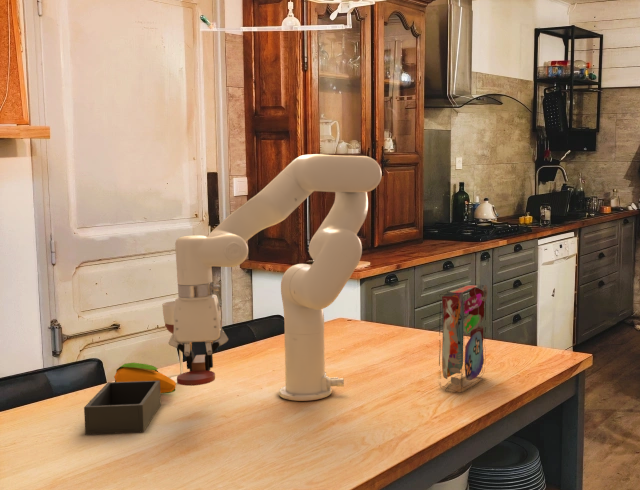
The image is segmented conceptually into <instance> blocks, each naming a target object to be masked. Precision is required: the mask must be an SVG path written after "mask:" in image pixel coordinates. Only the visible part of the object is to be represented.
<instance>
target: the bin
mask: <svg viewBox="0 0 640 490" xmlns="http://www.w3.org/2000/svg"><path fill="white" fill-rule="evenodd" d="M161 399H162V398H161V393H160V381H133V382H115V381H108V382H107V383H106V384H104V386H103V387H102V388H101V389H100V390H99V391H98V392H97V393H96V394H95V395H94V396H93V397H92V398H91V400H90V401H89V402H87V403H86V405H84V407H83V413H84V414H83V415H84V435H85V436H88V435H89V436H90V435H107V434H109V435H110V434H111V435H113V434H132V433H133V434H134V433H135V434H136V433H145V431H146V430H147V428H148V426H149V424H150V423H151V421H152V419H154V417H155V415H156V413H157V412H158V410H159V409H160V407H161V406H162V401H161Z"/></svg>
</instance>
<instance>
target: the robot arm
mask: <svg viewBox="0 0 640 490" xmlns="http://www.w3.org/2000/svg"><path fill="white" fill-rule="evenodd" d="M382 175H383V173H382V168H381V166H380V164H379V162H378V161H376V160H375V159H374V158H372V157H370V156H367V155H337V154H336V155H334V154H323V153H322V154H321V153H313V154H303V155H300V156H298V157H296V158H294V159H293V160H291V162H290V163H289V164H288V165H286V167H285V168H284V169H283V170H281V171H280V172H279V173H278V174H277V175H276V176H275V177H274V178H273V179H272V180H271V181H270V182H269V183H268V184H267V185H266V186H265V187H263V189H261V190H260V191H259V192H257V194H255V195H254V196H253V197H251V198H250V199H248V200H247V201H246V202H245V203H243V204H242V205H241V206H239V207H238V208H236V209H235V210H234V211H233V212H231V213H230V214H228V216H227V217H225V219H223V220H222V221H221V222H220V223H218V225H217V226H216V227H215V228H214V229H213V230H212V231H210V233H209V234H208V235H195V234H194V235H184V236H180V237H178V238H177V239H176V240H175V243H174V246H175V247H174V248H175V262H176V263H175V264H176V279H177V282H176V283H177V297H175V300H174V301H175V307H174V332H173V334H172V333H171V336H170V338H169V341H168V345H169V346H171V347H173V348H176V349H178V350H180V351H181V352H182V354H184V356H185V358H186V359H185V361H186V369H187V370H189V371H192V362H193V360H194V358H195V353H194V351H193V349H192V347H193V343H203V342H204V343H205V350H206V351H205V354H204V355H205V367H206V370H207V371H211V369H213V368H214V357H213V353H214V352H215V351H216V350H217V349H218V348H219V347H221V346H222V345H224V344H226V343H227V342H228V341H229V337H228V336H227V334H226V332H225V331H224V329H223V326H222V325H223V324H222V315H221V308H220V303H219V298H218V296H217V294H214V293H215V292H219V291H220V284H215V283H214V281H213V268H212V267H218V268H221V267H222V268H223V267H224V268H233V267H234V268H235V267H238V266H240V265H241V264H243V263H244V262H245V261H246V259H247V257H248V255H249V246H248V243H247V241H249V240H250V239H251V238H252V237H254V236H255V235H256V234H258V233H259V232H261V231H263V230H265V229H267V228H270V227H273V226H276V225H278V224H280V223H281V222H283V221H284V220H286V219H287V218H288V217H289V216H290V215H291V214H292V213H293V212H294V211H295V210H296V209H297V208H298V207H299V206H300V205H301V204H302V203H304V201H306V199H307V198H309V196H311V195H312V194H313V193H314V192H327V193H334V194H335V196H334V201H333V204H332V206H331V208H330V210H329V212H328V214H327V215H326V217H325V218H324V219H323V221H322V223H321V224H320V226H319V227H318V229H317V230H316V231H315V233H314V234H313V236H312V237H311V239H310V242H309V245H308V254H309V256H310V258H311V259H312V260H313V262H312V264H307V263H297V264H293V265H292V266H290V267H288V268H287V270H285V272H284V274H283V275H282V278H281V282H280V294H281V300H282V309H283V320H284V323H283V324H284V331H283V332H284V379H285V380H284V381H285V382H284V383H285V385H283V386H281V387H280V388H279V390H278V396H280V397H281V398H282V399H284V400H289V401H298V402H307V401H308V402H309V401H316V400H322V399H324V398H327V397H329V396H330V395H331V394H332V393H333V392H332V391H333V390H332V387H337V388H338V387H344V386H345V379H344V377H342V378H339V376H333V377H330V376H329V375H328V376H327V372H326V359H325V358H326V357H325V356H326V355H325V354H326V352H325V348H326V347H325V346H326V345H325V315H324V314H325V313H324V309H325V308H328V307H329V306H331V305H332V304H333V303H334V302H335V300H336V299H337V298H338V297H339V295H340V294H341V292H342V290H343V289H344V288H345V286H346V284H347V283H348V282H349V280H350V279H351V277H352V275H353V274H354V272H355V271H356V269H357V267H358V265H359V263H360V261H361V258H362V254H363V246H362V245H363V244H362V240H361V239H360V238H359V236H358V233H359V231H360V229H361V228H362V226H363V224H364V223H365V220H366V218H367V215H368V210H369V198H368V196H369V195H368V192H371V191H373V190H375V189H376V188H377V187H378V185H379V184H380V182H381V180H382Z"/></svg>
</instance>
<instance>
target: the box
mask: <svg viewBox="0 0 640 490" xmlns="http://www.w3.org/2000/svg"><path fill="white" fill-rule="evenodd" d="M488 289H489V288H488V286H487V284H484V285H483V284H481V286H480V285H476V284H466V285H462V286H457V287H456V288H451V289H448V290H446V291H444V292H443V293H439V296H441V304H439V307H440V308H439V316H438V317H439V323H438V326H439V327H438V329H439V332H438V333H439V335H441V323H442V344H441V341H439V343H438V344H439V348H438V352H439V353H438V354H439V355H438V361H439V362H438V365H441V369H442V374H441V371H439V378H442V376H443V378H444V379H446V380H448V378H449V377H450V380H449V381H448V382H447V383H446V384H445V385H441V383H438V385H439V387H440V388H445V392H446V393H447V392H448V393H450V391H449V390H451V391H453V392H454V393H456V394H459V393H464V392H466V391H468V390H469V388H467V389H466V390H464V391H461V392H460V391H459V392H458V391H456V390H455V389H452V388H449V386H451V385H453V386H457V387H459V386H460V390H462V389H465V388H466V386H464V385H463V379H465V380H466V381H473V380H475V379H476V378H477V380H475V382H477V381H478V382H477V383H475V384H473V382H471V383H470V384H469V385H467V387H469V386H471V385H473V387H475V386H476V385H478V384H479V383H480V382H482V381H483V378H482V377H478V376H479V375H481V373H482V375H484V373H485V370H486V369H484V364H485V355H484V352H485V348H484V341H485V339H486V336H484V332H486V330H487V328H484V326H483V325H480V324H481V323H482V322H483V320H484V319H485V307H487V303H486V302H487V298H488V294H489V290H488ZM467 291H468V293H467V294H466V292H467ZM466 296H467V299H466ZM469 296H470V297H469ZM465 299H466V300H465ZM441 312H442V313H441ZM441 315H442V317H441ZM465 315H467V316H466V318H465ZM441 320H442V321H441ZM479 325H480V326H479ZM469 333H470V335H469ZM468 335H469V338H468V341H467V342H466V344H464V337H468ZM463 367H464V371H463ZM456 374H458V375H457V376H453V375H456ZM464 374H465V375H464ZM463 375H464V377H463ZM459 376H460V379H459V378H458V377H459ZM480 379H481V380H480ZM450 383H451V384H450ZM448 384H449V386H447V385H448ZM446 386H447V387H446Z"/></svg>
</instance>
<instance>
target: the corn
mask: <svg viewBox="0 0 640 490" xmlns="http://www.w3.org/2000/svg"><path fill="white" fill-rule="evenodd" d="M158 370H159V368H158V367H156V366H154V365H150V364H147V363H142V362H141V363H140V362H126V363H123V364H122V365H120V366H119V367H118V368H117V369H116V371H115V374H114V376H113V378H114V382H133V381H160V394H163V395H164V394H171V393H174V392H176V388H177V383H175V381H173V380H172V379H170V378H171V377H169V376H168V375H166V374H163V372H159V371H158Z"/></svg>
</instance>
